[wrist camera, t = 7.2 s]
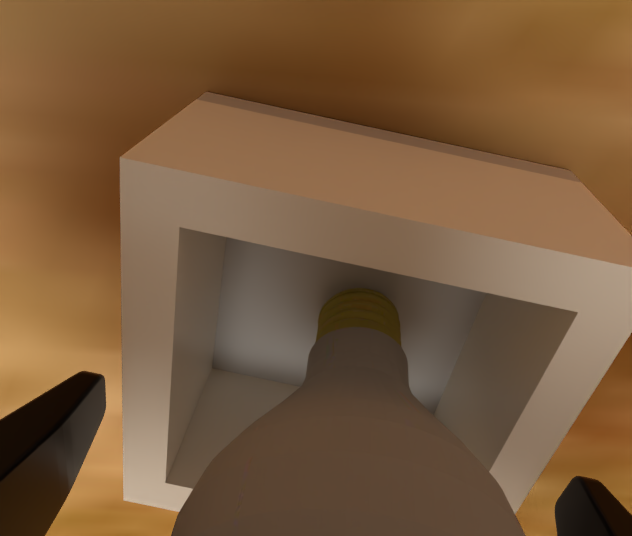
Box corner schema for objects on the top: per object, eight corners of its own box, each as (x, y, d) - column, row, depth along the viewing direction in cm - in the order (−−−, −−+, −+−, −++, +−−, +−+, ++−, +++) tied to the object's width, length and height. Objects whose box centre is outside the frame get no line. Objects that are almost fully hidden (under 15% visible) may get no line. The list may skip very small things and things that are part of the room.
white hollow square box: (570, 170, 12) (668, 274, 8) (452, 424, 17) (476, 573, 13) (206, 91, 12) (119, 156, 8) (185, 367, 17) (123, 500, 13)
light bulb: (511, 300, 13) (747, 922, 5) (370, 409, 16) (360, 941, 7) (347, 169, 12) (270, 716, 3) (221, 312, 14) (-2, 829, 6)
